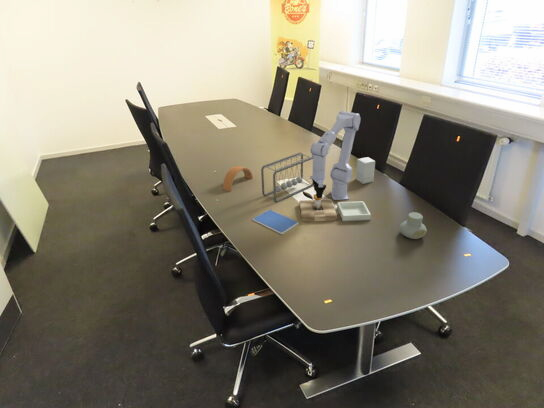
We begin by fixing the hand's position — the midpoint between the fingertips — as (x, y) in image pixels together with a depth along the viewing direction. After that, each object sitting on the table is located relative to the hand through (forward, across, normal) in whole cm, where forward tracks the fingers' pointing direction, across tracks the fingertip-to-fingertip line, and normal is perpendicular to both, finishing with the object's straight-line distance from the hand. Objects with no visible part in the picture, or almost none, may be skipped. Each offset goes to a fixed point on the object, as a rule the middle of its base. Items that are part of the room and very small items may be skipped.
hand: (317, 194), depth 170 cm
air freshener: (+10, +23, +38) cm, 46 cm away
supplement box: (+10, -33, +32) cm, 47 cm away
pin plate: (+10, 0, 0) cm, 10 cm away
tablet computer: (+11, +7, -21) cm, 25 cm away
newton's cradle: (+10, -24, -12) cm, 29 cm away
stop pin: (+10, 0, 0) cm, 10 cm away
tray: (+10, +3, +17) cm, 20 cm away
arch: (+10, -36, -40) cm, 55 cm away
